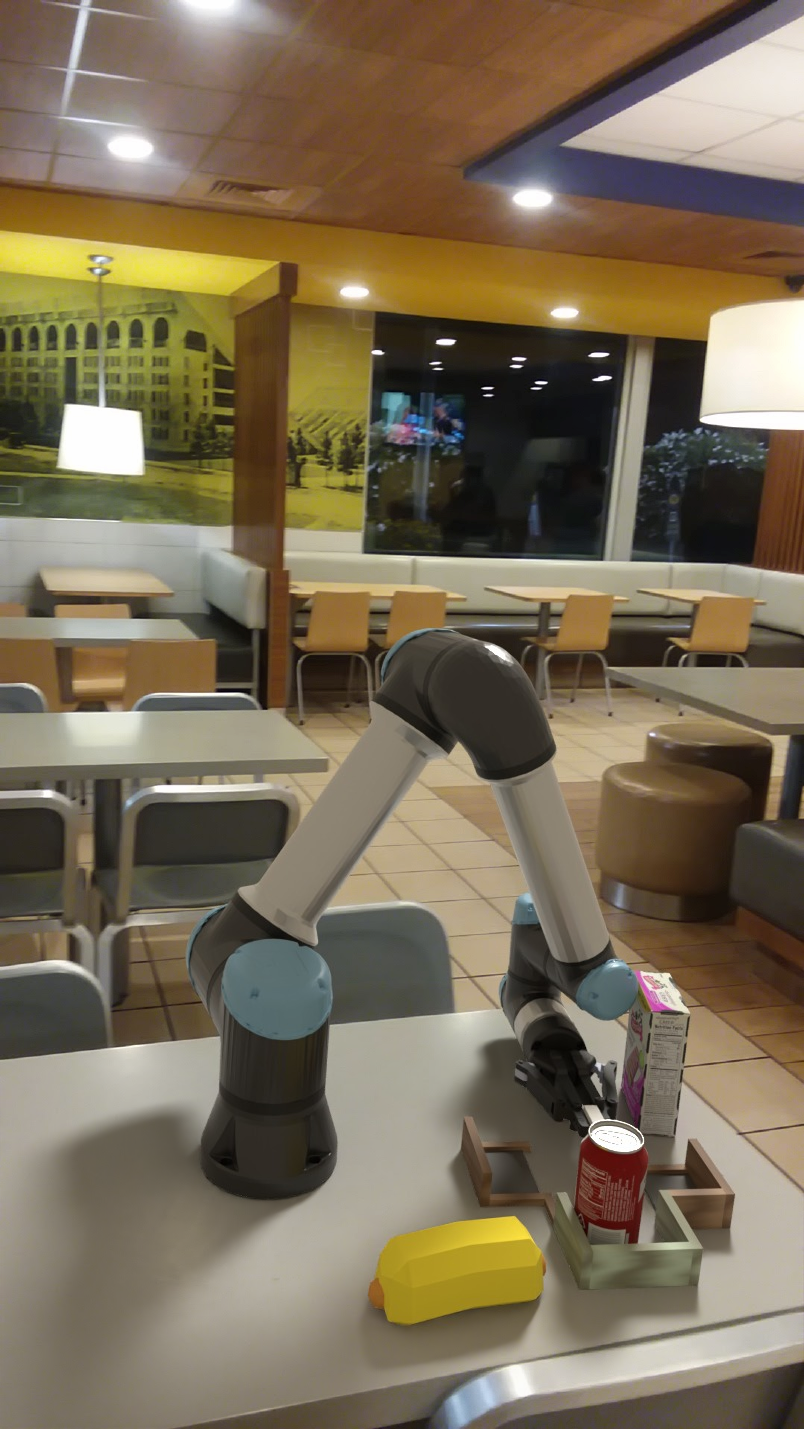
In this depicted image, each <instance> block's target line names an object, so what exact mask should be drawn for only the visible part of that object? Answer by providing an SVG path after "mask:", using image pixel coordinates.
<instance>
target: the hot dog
mask: <svg viewBox="0 0 804 1429" xmlns="http://www.w3.org/2000/svg"><path fill="white" fill-rule="evenodd" d="M377 1261H378V1262H377V1266H376V1271H375V1275H374V1279H373V1280H371V1281H370V1282H369V1285H368V1290H367V1298H368V1299H369V1300H368V1301H370V1303H371V1306H372V1308H376V1309H380V1310H384V1311H385V1314H386V1319H387V1322H390V1323H392V1324H393V1323H394V1324H397V1325H400V1326H405V1327H406V1326H411V1325H414V1324H418V1323H422V1322H427V1321H429V1320H430V1321H431V1320H433V1319H437V1318H440V1317H444V1316H448V1315H451V1314H456V1313H459V1312H462V1311H463V1312H464V1311H467V1310H474V1309H481V1308H489V1307H490V1308H491V1307H497V1306H505V1305H512V1304H520V1303H528V1302H531V1301H534V1300H536V1299H537V1298H538V1297H539V1296H540V1295H541V1294H542V1293H543V1292H544V1289H545V1288H544V1276H545V1275H546V1274H547V1262H546V1259H545V1256H544V1255H543V1251H542V1250H541V1249H540V1248H539V1247H538V1246H537V1244H536V1242H535V1241H534V1239H533V1238H532V1236H531V1234H530V1232H529V1230H528V1228H527V1227H526V1226H525V1225H524V1224H523V1223H522V1222H521V1220H519V1219H518V1218H517V1217H516V1215H513V1216H501V1217H492V1218H491V1217H490V1218H480V1219H471V1220H470V1219H469V1220H458V1221H453V1222H449V1223H446V1224H440V1225H436V1226H433V1227H429V1228H424V1229H420V1230H416V1231H412V1232H407V1233H404V1234H399V1235H395V1236H393V1237H391V1238H389V1239H388V1241H387V1242H386V1244H385V1246H384V1247H383V1249H382V1250H381V1252H380V1254H379V1257H378V1260H377Z"/></svg>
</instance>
